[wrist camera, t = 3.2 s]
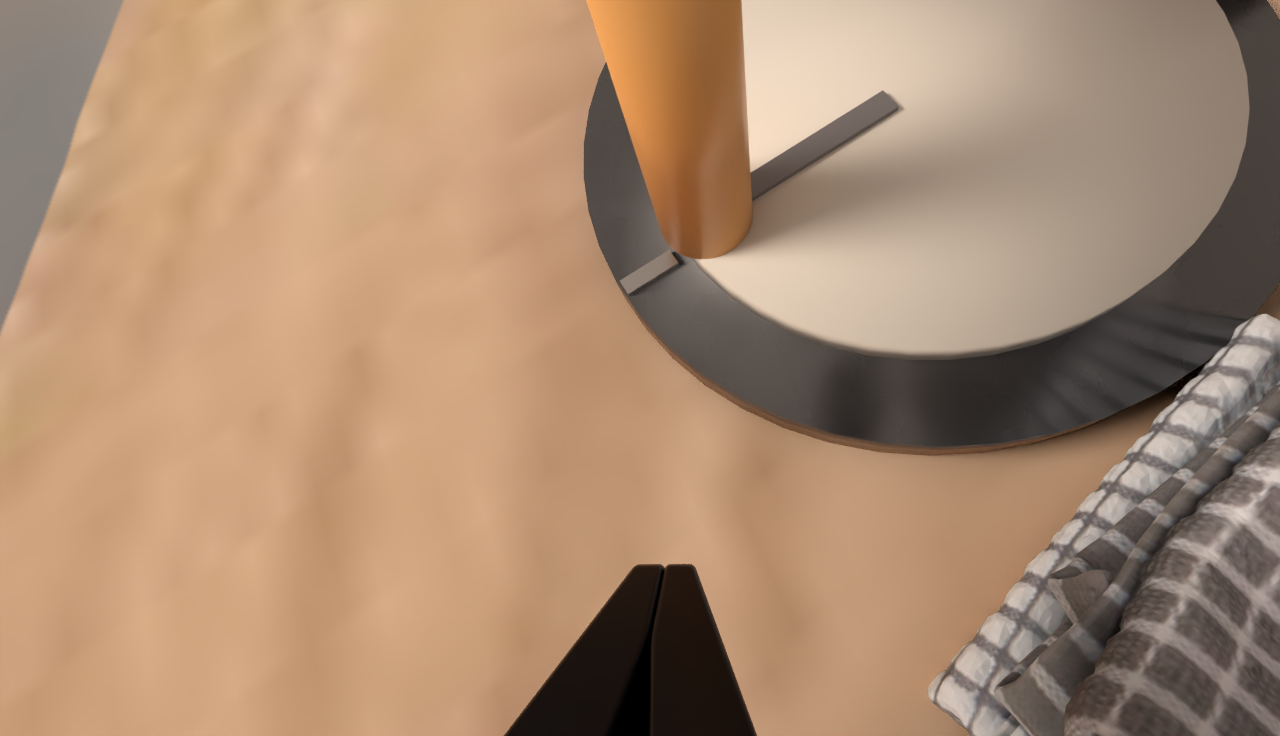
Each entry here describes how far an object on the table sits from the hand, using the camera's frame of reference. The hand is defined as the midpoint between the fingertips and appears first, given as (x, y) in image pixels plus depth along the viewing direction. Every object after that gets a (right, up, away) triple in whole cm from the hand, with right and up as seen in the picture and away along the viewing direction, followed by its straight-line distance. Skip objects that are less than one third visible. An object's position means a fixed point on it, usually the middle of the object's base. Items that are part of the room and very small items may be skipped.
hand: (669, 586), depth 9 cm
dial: (+8, +12, +12) cm, 19 cm away
